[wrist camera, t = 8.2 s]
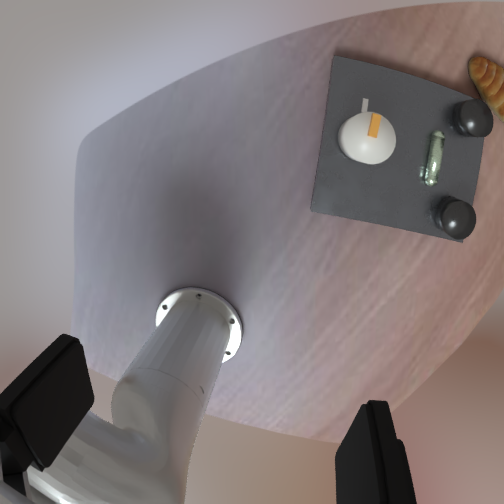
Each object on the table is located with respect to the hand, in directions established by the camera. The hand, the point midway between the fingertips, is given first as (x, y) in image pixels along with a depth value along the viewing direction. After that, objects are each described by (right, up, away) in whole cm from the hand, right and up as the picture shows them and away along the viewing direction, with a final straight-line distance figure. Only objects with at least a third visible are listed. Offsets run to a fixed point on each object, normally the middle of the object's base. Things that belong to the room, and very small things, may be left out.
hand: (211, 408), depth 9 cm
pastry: (+33, +26, +19) cm, 46 cm away
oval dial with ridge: (+13, +17, +23) cm, 31 cm away
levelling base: (+19, +17, +24) cm, 35 cm away
